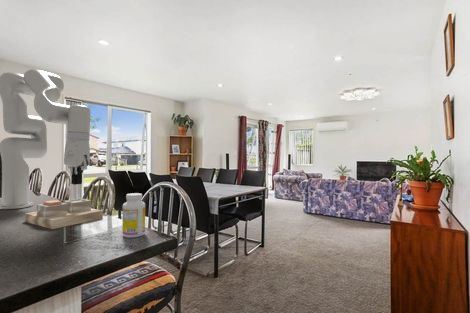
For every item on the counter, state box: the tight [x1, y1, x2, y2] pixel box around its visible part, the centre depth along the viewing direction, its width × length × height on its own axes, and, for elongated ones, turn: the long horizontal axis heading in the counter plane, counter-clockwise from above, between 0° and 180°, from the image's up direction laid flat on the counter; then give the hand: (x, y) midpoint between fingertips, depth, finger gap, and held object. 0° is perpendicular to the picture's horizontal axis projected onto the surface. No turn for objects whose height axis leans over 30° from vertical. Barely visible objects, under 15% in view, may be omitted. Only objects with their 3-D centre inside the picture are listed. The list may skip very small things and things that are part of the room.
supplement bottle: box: [121, 192, 146, 239], centre depth 82 cm, size 7×7×13 cm
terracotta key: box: [42, 199, 63, 206], centre depth 94 cm, size 4×4×3 cm
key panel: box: [24, 198, 104, 230], centre depth 98 cm, size 18×18×7 cm
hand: (76, 183), depth 102 cm, fingers closed
